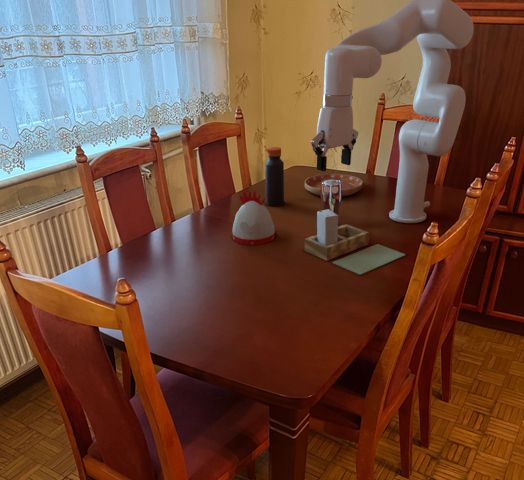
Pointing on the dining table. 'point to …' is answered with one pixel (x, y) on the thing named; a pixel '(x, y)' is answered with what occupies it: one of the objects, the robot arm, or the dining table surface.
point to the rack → (338, 243)
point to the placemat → (368, 259)
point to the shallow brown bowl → (348, 182)
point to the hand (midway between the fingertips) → (333, 167)
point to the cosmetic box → (327, 227)
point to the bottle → (274, 177)
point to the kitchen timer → (253, 222)
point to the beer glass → (331, 195)
